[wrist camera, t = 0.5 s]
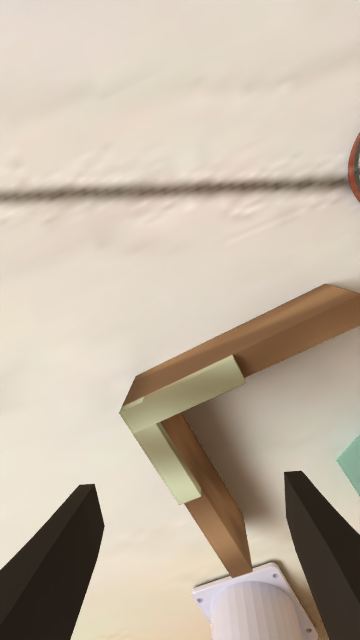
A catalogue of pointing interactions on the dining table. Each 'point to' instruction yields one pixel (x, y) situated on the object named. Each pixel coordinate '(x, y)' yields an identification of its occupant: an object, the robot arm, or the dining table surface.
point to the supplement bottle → (355, 168)
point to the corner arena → (212, 380)
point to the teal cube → (352, 463)
